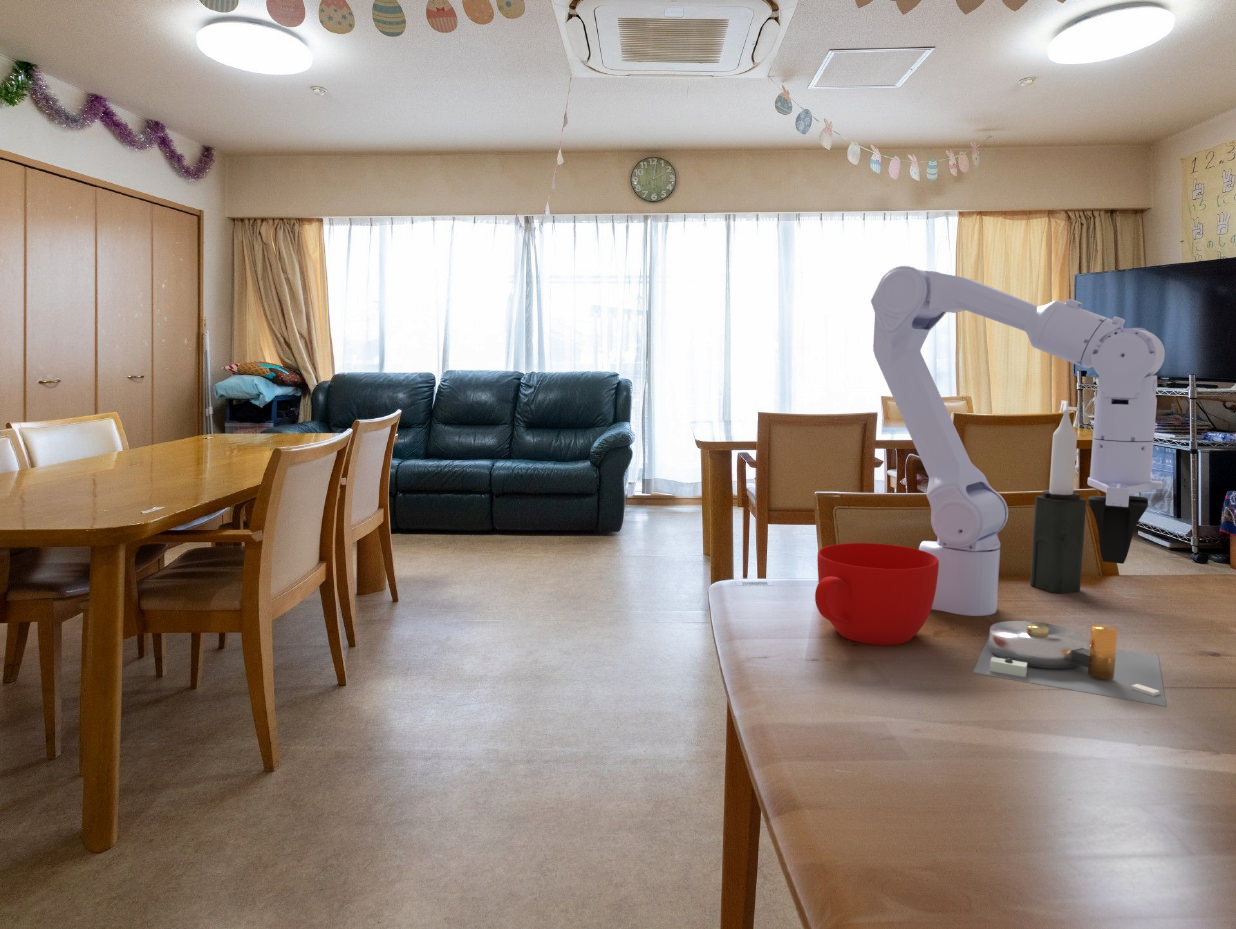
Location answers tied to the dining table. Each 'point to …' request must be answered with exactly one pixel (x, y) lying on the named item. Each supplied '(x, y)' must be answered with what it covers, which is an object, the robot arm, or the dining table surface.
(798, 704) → the dining table surface
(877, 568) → the ceramic cup
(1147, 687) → the stand
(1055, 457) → the black and white bottle
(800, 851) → the dining table surface
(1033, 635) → the crank wheel
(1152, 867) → the dining table surface
